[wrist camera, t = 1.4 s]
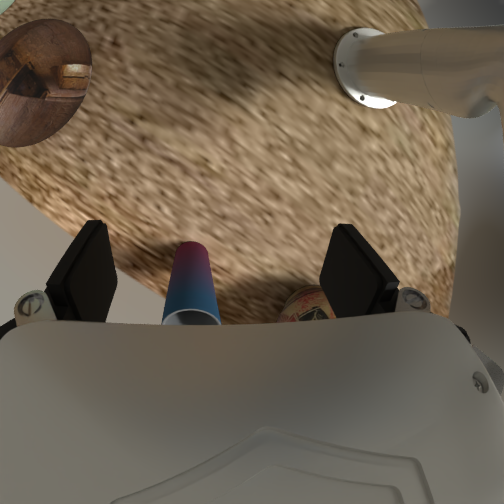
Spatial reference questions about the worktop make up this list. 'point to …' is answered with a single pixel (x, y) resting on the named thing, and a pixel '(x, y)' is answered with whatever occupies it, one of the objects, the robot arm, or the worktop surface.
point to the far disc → (5, 5)
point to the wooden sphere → (41, 80)
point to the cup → (191, 289)
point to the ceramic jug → (306, 306)
